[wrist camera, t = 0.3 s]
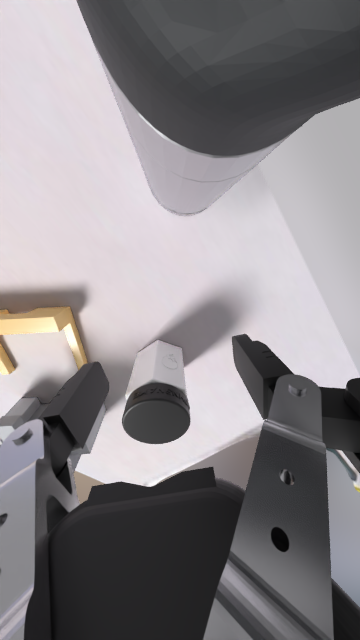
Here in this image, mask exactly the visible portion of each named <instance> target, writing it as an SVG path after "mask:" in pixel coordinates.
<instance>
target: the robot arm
mask: <svg viewBox="0 0 360 640" xmlns="http://www.w3.org/2000/svg"><path fill="white" fill-rule="evenodd" d="M77 3H78V6H79V8H80V11H81V13H82V16H83V18H84V21H85V23H86V25H87V28H88V30H89V33H90V35H91V37H92V40H93V43H94V46H95V48H96V51H97V53H98V56H99V58H100V61H101V63H102V66H103V69H104V71H105V74H106V76H107V79H108V81H109V84H110V86H111V89H112V92H113V94H114V97H115V99H116V102H117V104H118V107H119V109H120V111H121V114H122V116H123V119H124V122H125V124H126V127H127V129H128V132H129V134H130V137H131V140H132V142H133V145H134V147H135V150H136V153H137V155H138V158H139V160H140V163H141V165H142V168H143V171H144V173H145V176H146V179H147V181H148V184H149V186H150V188H151V191H152V193H153V195H154V196H155V198H156V199H157V201H158V202H159V203H160V204H161V205H162V206H163V207H164V208H165V209H167V210H168V211H170V212H172V213H174V214H177V215H183V216H189V215H195V214H197V213H200V212H202V211H203V210H205V209H206V208H207V207H209V206H210V205H211V204H212V203H213V202H215V201H216V200H217V199H218V198H219V197H221V196H222V195H223V194H224V193H225V192H226V191H227V190H228V189H230V188H231V187H232V186H233V185H234V184H235V183H236V182H238V181H239V180H240V179H241V178H242V177H243V176H244V175H246V174H247V173H248V172H249V171H250V170H251V169H252V168H254V167H255V166H256V165H257V164H258V163H259V162H260V161H261V160H263V159H264V158H265V157H266V156H267V155H268V154H270V153H271V151H273V150H274V149H275V148H276V147H277V146H278V145H280V144H281V143H282V142H283V141H284V140H285V139H286V138H287V137H289V136H290V135H291V134H292V133H293V132H294V131H296V130H297V129H298V128H299V127H301V126H302V125H303V124H304V123H305V122H307V121H308V120H309V119H310V118H311V117H313V116H314V115H315V114H317V113H320V112H323V111H325V110H328V109H330V108H333V107H335V106H338V105H341V104H344V103H347V102H350V101H353V100H355V99H358V98H360V0H77ZM232 345H233V357H234V363H235V366H236V369H237V371H238V373H239V375H240V376H241V378H242V380H243V382H244V384H245V386H246V388H247V390H248V391H249V393H250V395H251V397H252V399H253V401H254V403H255V405H256V407H257V408H258V410H259V412H260V414H261V416H262V418H263V420H265V419H267V421H266V420H265V421H264V423H263V426H262V430H261V434H260V438H259V442H258V445H257V449H256V453H255V457H254V461H253V465H252V468H251V472H250V477H249V480H248V484H247V488H246V490H244V489H243V488H241V487H240V486H238V485H236V484H234V483H232V482H230V481H227V480H224V479H220V478H215V475H214V470H213V467H209V468H203V469H196V470H191V471H185V472H181V473H179V474H177V475H175V476H173V477H171V478H169V479H167V480H165V481H163V482H161V483H159V484H157V485H155V486H152V487H146V486H141V485H136V484H131V483H125V482H116V483H110V484H104V485H98V486H92V488H91V491H90V494H89V497H88V500H87V501H85V502H83V503H82V504H80V503H79V500H78V496H77V491H76V485H75V481H74V475H73V469H72V464H71V460H70V459H69V455H70V453H71V451H77V450H83V448H84V445H85V443H86V441H87V439H88V436H89V434H90V432H91V430H92V427H93V425H94V423H95V421H96V418H97V416H98V414H99V412H100V409H101V407H102V405H103V403H104V400H105V398H106V396H107V394H108V391H109V382H108V380H107V378H106V375H105V373H104V371H103V369H102V367H101V364H100V363H99V362H92V363H87V364H84V365H82V367H81V368H80V369H79V371H78V372H77V373H76V374H75V375H74V376H73V377H72V378H70V379H69V380H68V381H67V382H66V383H65V385H64V386H63V387H62V390H60V391H59V392H58V394H57V396H55V397H54V399H53V400H52V401H51V402H50V404H49V405H48V406H47V408H46V409H45V410H44V411H43V413H42V414H41V415H40V416H39V418H38V419H36V420H32V421H29V422H27V423H25V424H23V425H21V426H20V427H18V428H17V429H16V430H14V431H13V432H12V433H11V434H10V435H9V436H8V437H7V438H6V439H5V440H4V441H3V443H2V445H0V640H360V607H359V606H358V605H357V604H356V603H355V602H354V601H353V600H352V599H351V598H350V597H349V596H348V595H347V594H346V593H345V592H344V591H343V590H342V588H341V587H340V586H339V585H338V584H337V583H336V582H335V581H334V580H333V579H332V578H331V561H330V537H329V514H328V513H329V512H328V488H327V463H326V448H331V449H337V450H342V451H343V452H344V454H345V455H346V456H347V458H348V459H349V460H350V462H351V463H352V464H353V465H354V467H355V468H356V469H357V471H358V472H359V473H360V378H355V379H351V380H349V381H348V382H347V385H346V389H340V388H326V387H318V385H317V384H316V383H314V382H313V381H312V380H310V379H308V378H306V377H303V376H300V375H294V374H293V373H292V372H291V370H290V369H289V368H288V367H287V366H286V365H285V364H284V363H283V362H282V361H281V360H280V359H279V358H278V357H277V356H276V355H275V354H274V353H273V352H271V350H270V349H269V348H268V347H267V346H266V345H265V344H263V343H261V342H259V341H252V340H251V339H250V338H249V337H248V336H247V334H242V335H237V336H233V337H232Z"/></svg>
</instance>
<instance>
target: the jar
mask: <svg viewBox="0 0 360 640" xmlns="http://www.w3.org/2000/svg"><path fill="white" fill-rule="evenodd" d="M125 397H126V400H127V403H126V407H125V410H124V414H123V418H122V425H123V428H124V430H125V431H126V433H127V434H128V435H129V436H131V437H132V438H134V439H135V440H138V441H140V442H144V443H148V444H163V443H168V442H171V441H174V440H176V439H178V438H180V437H181V436H182V435H184V434H185V432H186V431H187V430H188V428H189V425H190V412H189V410H190V407H189V403H188V399H187V392H186V382H185V373H184V364H183V355H182V348H180V347H177V346H174V345H171V344H168V343H166V342H163V341H160V340H156V341H155V342H153V343H152V344H150V345H149V346H147V347H146V348H144V349H143V350H141V351H140V352H138V353H137V356H136V360H135V363H134V367H133V370H132V373H131V377H130V380H129V384H128V387H127V391H126V394H125Z"/></svg>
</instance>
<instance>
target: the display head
mask: <svg viewBox="0 0 360 640" xmlns="http://www.w3.org/2000/svg"><path fill="white" fill-rule="evenodd" d="M48 405H49V404H40V402H39V400H38V398H37V397H31V398H21V399H20V400H19V401H18V402H17V403H16V404H15V405H14V406H13V407H12V408H11V409H10V411H9V412H8V413H7V414H6V415H5V416H2V418H1V419H0V445H2V443H3V441H4V440H5V439H6V438H7V437H8V436H9V435H10V434H11V433H12V432H13V431H14V430H16V429H17V428H18V427H20V426H21V425H23V424H25V423H27V422H29V421H32V420H36V419H38V418H39V416H40V415H41V414H42V413H43V411H44V410H45V409H46V408H47V406H48ZM105 413H106V408H105V405H104V403H103V405H102V407H101V409H100V412H99V414H98V416H97V418H96V421H95V423H94V425H93V427H92V430H91V432H90V434H89V436H88V439H87V441H86V443H85V445H84V448H83V450H77V451H71V453H70V455H69V459H70V460H71V464H72V469H73V473H74V471H75V468H76V466H77V463H78V461H79V459H80V456H81V454H90V452H91V450H92V447H93V444H94V442H95V439H96V437H97V434H98V431H99V429H100V426H101V423H102V421H103V418H104V415H105Z"/></svg>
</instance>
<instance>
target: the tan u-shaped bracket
mask: <svg viewBox="0 0 360 640" xmlns="http://www.w3.org/2000/svg"><path fill="white" fill-rule="evenodd" d="M63 328H64V331H65V333H66V336H67V339H68V342H69V345H70V347H71V350H72V353H73V356H74V358H75V361H76V364H77V367H78V370H79V369H80V368H81V367H82V365H84V364H87V363H88V361H87V358H86V355H85V352H84V349H83V346H82V343H81V340H80V337H79V334H78V330H77V327H76V324H75V321H74V318H73V315H72V312H71V309H70V306H67V307H46V308H36V309H34V310H32V311H30V312H28V313H18V314H9V312H8V310H7V309H5V310H0V335H8V334H27V333H45V332H59V331H61V330H62V329H63ZM14 370H15V368H14V366H13V365H12V363H11V361H10V359H9V357H8V356H7V354H6V352H5V350H4V348H3V347H2V345H1V343H0V372H1V373H2V375H5V374H10V373H12V372H13V371H14Z"/></svg>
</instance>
